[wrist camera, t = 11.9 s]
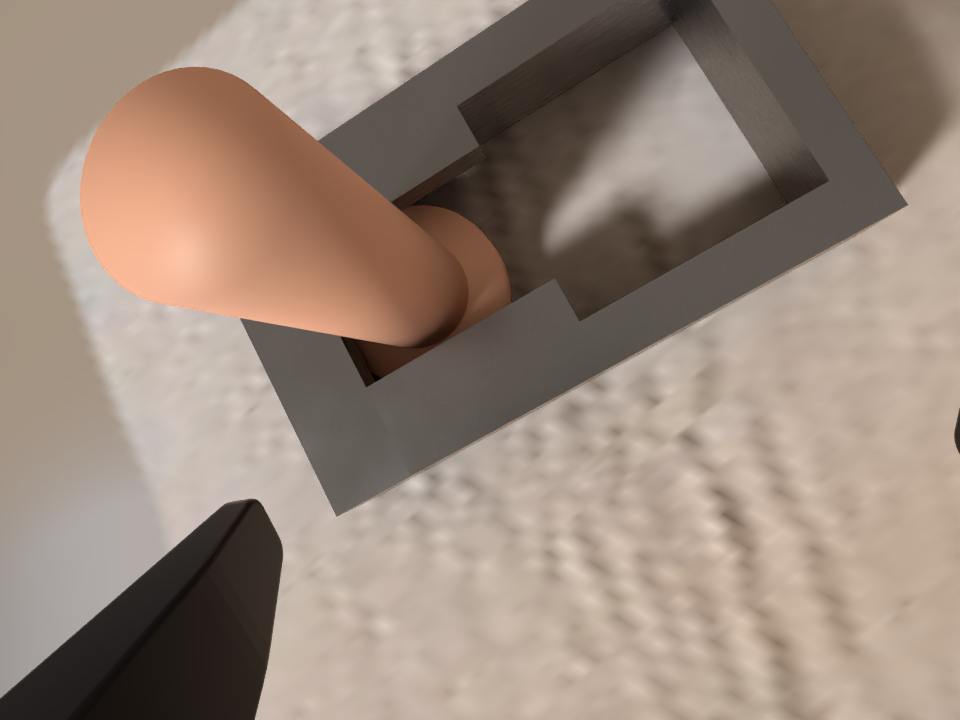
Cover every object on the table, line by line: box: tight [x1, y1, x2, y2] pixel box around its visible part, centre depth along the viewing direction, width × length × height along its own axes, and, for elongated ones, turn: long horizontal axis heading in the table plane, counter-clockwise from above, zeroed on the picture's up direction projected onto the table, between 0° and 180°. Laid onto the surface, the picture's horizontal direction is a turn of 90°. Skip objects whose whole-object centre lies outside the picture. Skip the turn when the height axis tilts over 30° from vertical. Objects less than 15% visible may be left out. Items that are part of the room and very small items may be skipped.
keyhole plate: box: [240, 0, 908, 516], centre depth 20 cm, size 18×11×3 cm, turn 120°
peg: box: [80, 67, 512, 378], centre depth 16 cm, size 6×6×13 cm
